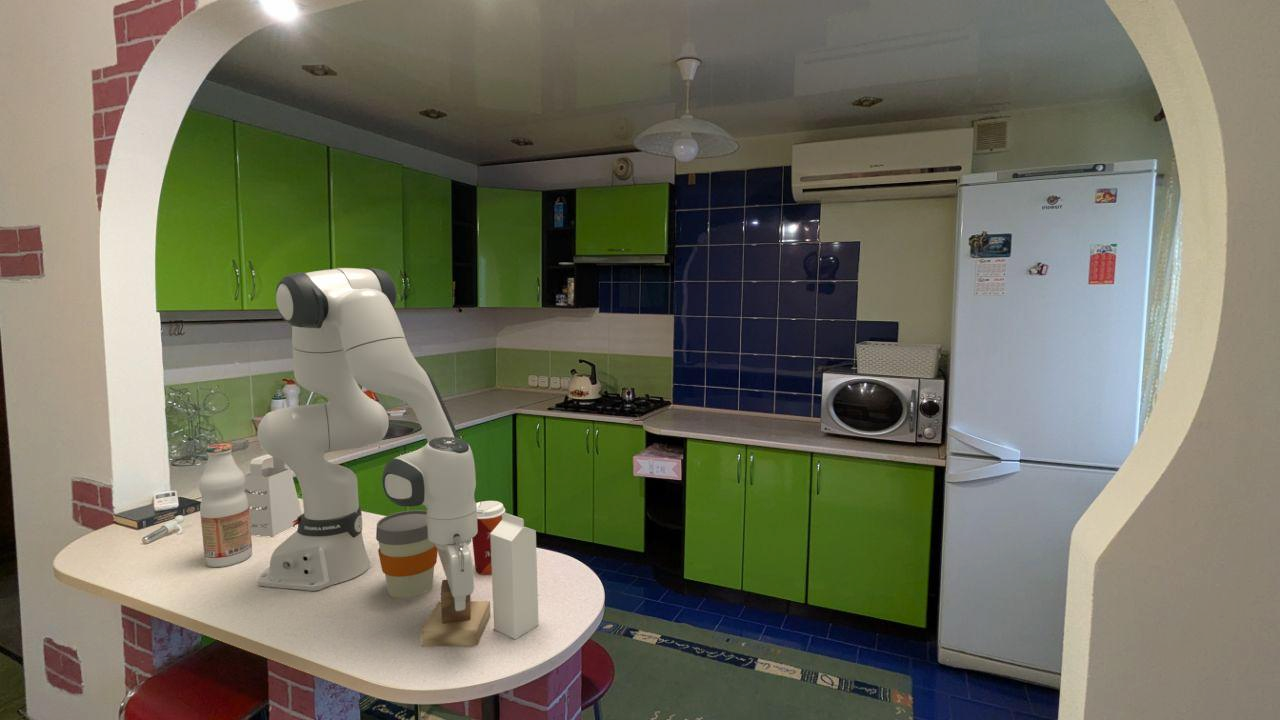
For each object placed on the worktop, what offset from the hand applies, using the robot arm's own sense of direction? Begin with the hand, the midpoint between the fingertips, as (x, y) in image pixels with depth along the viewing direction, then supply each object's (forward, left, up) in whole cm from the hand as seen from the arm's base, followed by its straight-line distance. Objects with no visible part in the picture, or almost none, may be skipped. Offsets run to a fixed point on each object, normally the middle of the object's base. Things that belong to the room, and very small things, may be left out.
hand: (455, 597), depth 111 cm
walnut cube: (0, 0, -4) cm, 4 cm away
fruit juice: (-64, +32, -7) cm, 72 cm away
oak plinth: (0, 0, -7) cm, 7 cm away
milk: (+11, +1, -7) cm, 13 cm away
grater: (-65, +51, -7) cm, 83 cm away
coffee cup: (0, +25, -7) cm, 26 cm away
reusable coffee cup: (-15, +17, -7) cm, 24 cm away
